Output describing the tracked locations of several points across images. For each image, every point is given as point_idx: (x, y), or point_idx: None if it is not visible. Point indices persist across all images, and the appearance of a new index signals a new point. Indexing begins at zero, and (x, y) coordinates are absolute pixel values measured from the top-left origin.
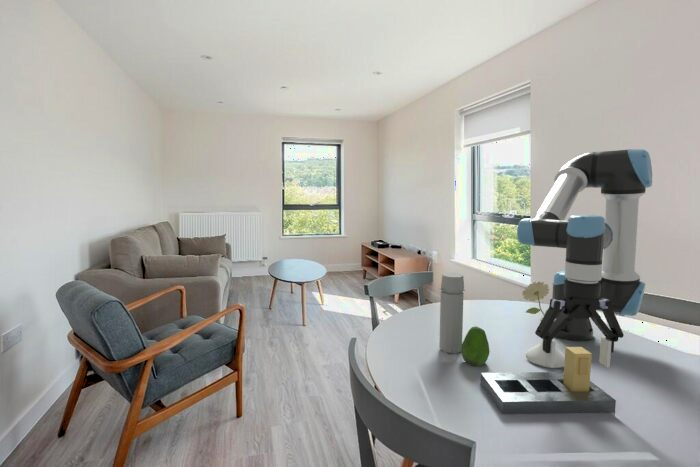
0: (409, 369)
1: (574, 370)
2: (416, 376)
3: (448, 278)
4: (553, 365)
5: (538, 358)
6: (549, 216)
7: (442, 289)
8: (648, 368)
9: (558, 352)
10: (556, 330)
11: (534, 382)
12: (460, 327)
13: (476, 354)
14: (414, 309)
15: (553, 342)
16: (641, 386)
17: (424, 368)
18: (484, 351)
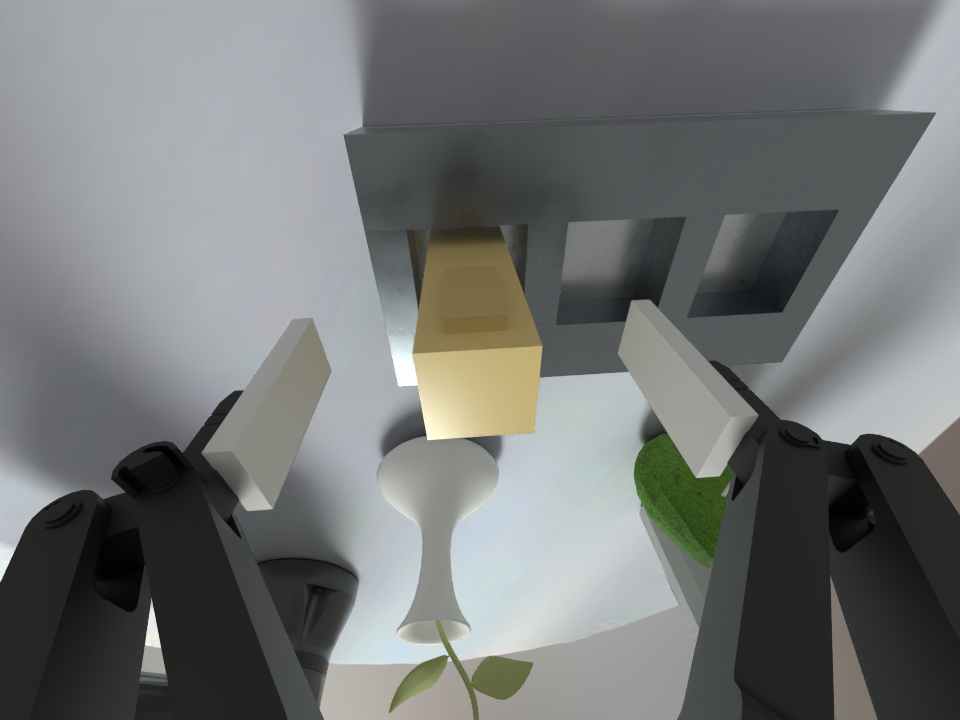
0: (866, 413)
1: (518, 286)
2: (883, 380)
3: None
4: (641, 306)
5: (480, 466)
6: None
7: None
8: (116, 457)
9: (408, 491)
10: (805, 519)
11: (612, 315)
12: (696, 571)
13: None
14: (619, 625)
15: (743, 410)
16: (169, 359)
17: (818, 420)
18: (688, 471)
